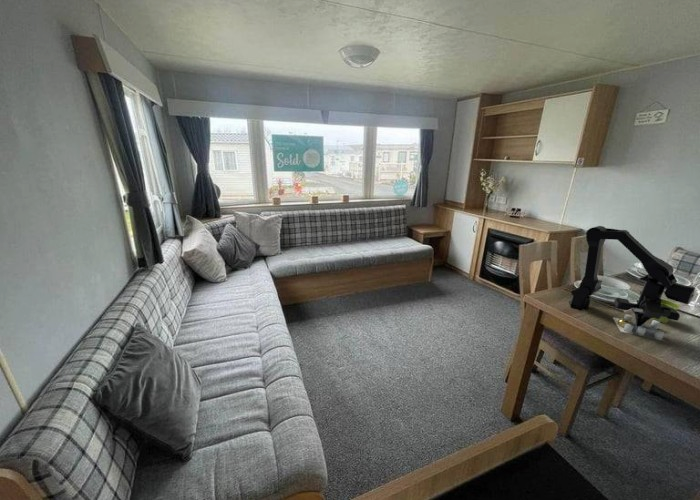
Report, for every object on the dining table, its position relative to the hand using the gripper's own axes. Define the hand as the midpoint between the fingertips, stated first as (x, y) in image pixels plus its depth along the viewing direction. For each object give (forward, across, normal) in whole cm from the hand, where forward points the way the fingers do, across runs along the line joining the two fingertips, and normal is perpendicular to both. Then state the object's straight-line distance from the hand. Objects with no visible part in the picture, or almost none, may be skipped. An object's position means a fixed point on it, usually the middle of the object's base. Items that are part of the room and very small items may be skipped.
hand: (638, 326), depth 122 cm
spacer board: (+2, 0, 0) cm, 2 cm away
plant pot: (+2, +11, +15) cm, 19 cm away
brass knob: (+1, -4, 0) cm, 5 cm away
